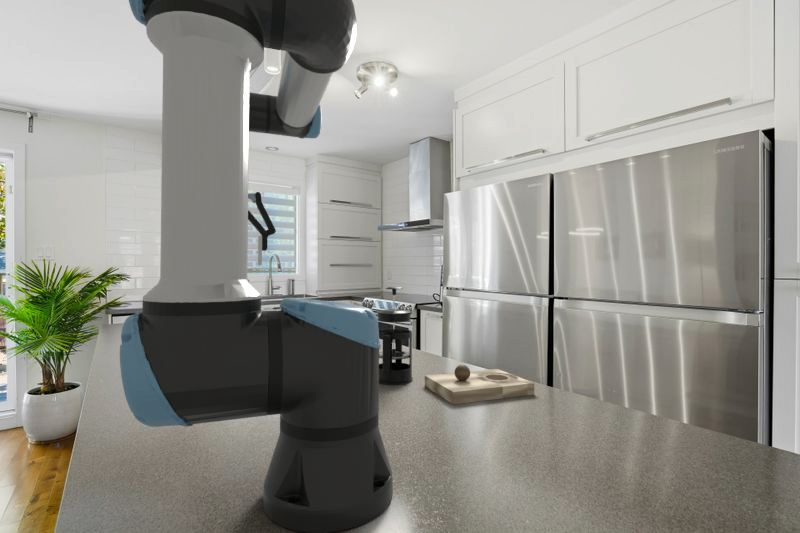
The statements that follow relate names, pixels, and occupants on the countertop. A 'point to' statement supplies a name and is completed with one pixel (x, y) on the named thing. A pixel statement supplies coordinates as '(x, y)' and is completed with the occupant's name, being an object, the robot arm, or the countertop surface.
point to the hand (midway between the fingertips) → (227, 265)
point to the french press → (394, 347)
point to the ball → (462, 372)
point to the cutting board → (479, 386)
